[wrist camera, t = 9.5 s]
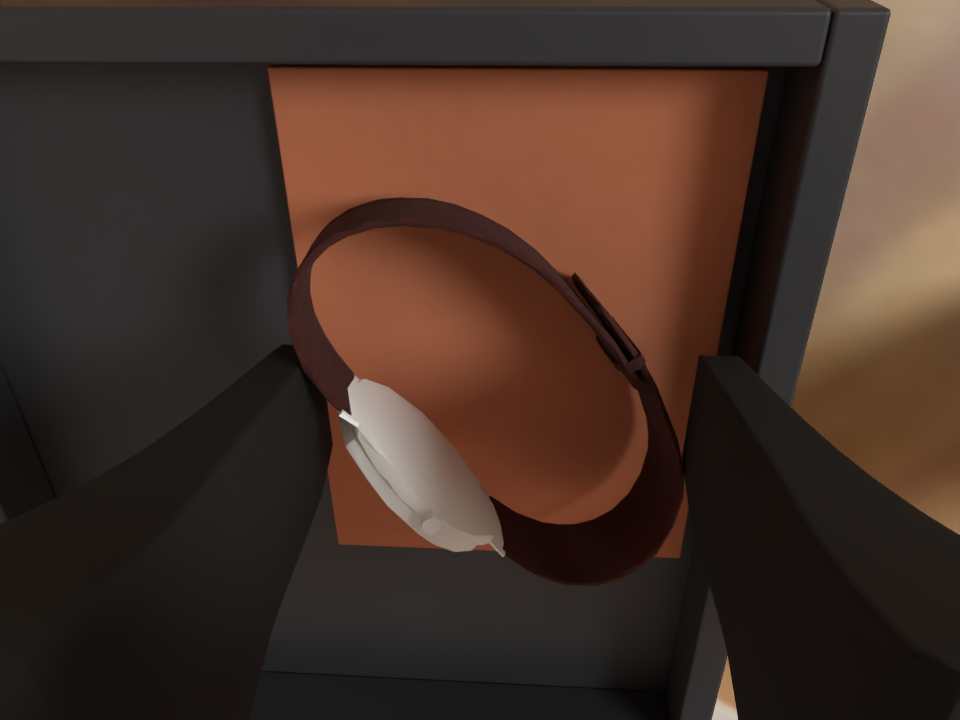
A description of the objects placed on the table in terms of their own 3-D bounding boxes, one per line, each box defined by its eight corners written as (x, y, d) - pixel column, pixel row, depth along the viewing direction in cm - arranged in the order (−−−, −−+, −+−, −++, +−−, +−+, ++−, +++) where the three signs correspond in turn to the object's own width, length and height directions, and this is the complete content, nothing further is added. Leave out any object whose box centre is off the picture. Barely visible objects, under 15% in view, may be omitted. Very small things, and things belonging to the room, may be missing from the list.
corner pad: (340, 534, 17) (338, 544, 17) (272, 62, 12) (267, 67, 12) (678, 548, 17) (680, 559, 17) (765, 65, 11) (769, 70, 11)
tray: (115, 658, 21) (76, 733, 19) (-163, -18, 12) (-282, 6, 10) (686, 687, 20) (700, 768, 19) (840, -18, 11) (895, 8, 10)
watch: (249, 277, 14) (164, 404, 10) (452, 94, 12) (421, 184, 9) (536, 536, 16) (535, 693, 13) (737, 423, 15) (788, 576, 11)
